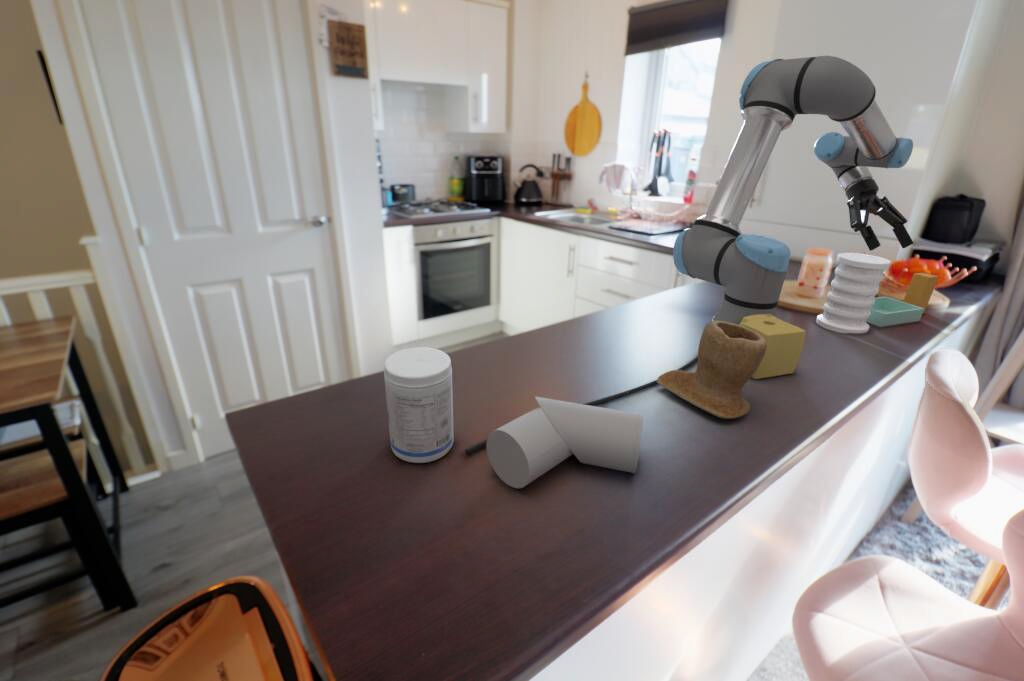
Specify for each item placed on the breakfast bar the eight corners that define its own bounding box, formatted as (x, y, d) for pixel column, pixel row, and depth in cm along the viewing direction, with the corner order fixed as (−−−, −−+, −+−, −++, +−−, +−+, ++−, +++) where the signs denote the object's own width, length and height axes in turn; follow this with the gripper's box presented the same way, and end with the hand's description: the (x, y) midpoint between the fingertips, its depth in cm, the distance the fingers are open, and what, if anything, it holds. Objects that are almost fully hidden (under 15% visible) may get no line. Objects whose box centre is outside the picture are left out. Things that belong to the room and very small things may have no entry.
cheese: (719, 358, 104) (729, 316, 100) (759, 353, 107) (770, 311, 103) (755, 381, 95) (767, 335, 91) (797, 375, 98) (811, 330, 94)
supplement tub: (395, 428, 77) (388, 346, 71) (454, 426, 78) (452, 345, 72) (386, 468, 68) (377, 377, 62) (453, 465, 69) (451, 376, 63)
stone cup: (764, 411, 85) (786, 334, 79) (721, 430, 79) (742, 348, 73) (694, 375, 97) (709, 305, 91) (653, 389, 91) (665, 316, 85)
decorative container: (877, 336, 118) (903, 265, 111) (827, 332, 120) (849, 262, 112) (854, 319, 129) (877, 253, 121) (808, 316, 130) (828, 250, 123)
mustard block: (914, 315, 133) (929, 277, 129) (899, 310, 136) (913, 273, 132) (923, 314, 134) (939, 276, 130) (908, 309, 138) (923, 272, 133)
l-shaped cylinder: (564, 405, 82) (476, 454, 70) (580, 356, 77) (487, 400, 64) (649, 472, 73) (565, 544, 60) (675, 422, 67) (588, 489, 54)
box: (879, 328, 123) (884, 314, 122) (842, 314, 132) (847, 301, 130) (918, 322, 128) (924, 308, 127) (880, 309, 137) (885, 296, 135)
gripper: (876, 193, 150) (908, 251, 143) (817, 194, 142) (848, 256, 135) (899, 177, 143) (934, 237, 136) (839, 177, 135) (873, 241, 128)
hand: (892, 247), depth 136 cm, fingers open, 13 cm apart
